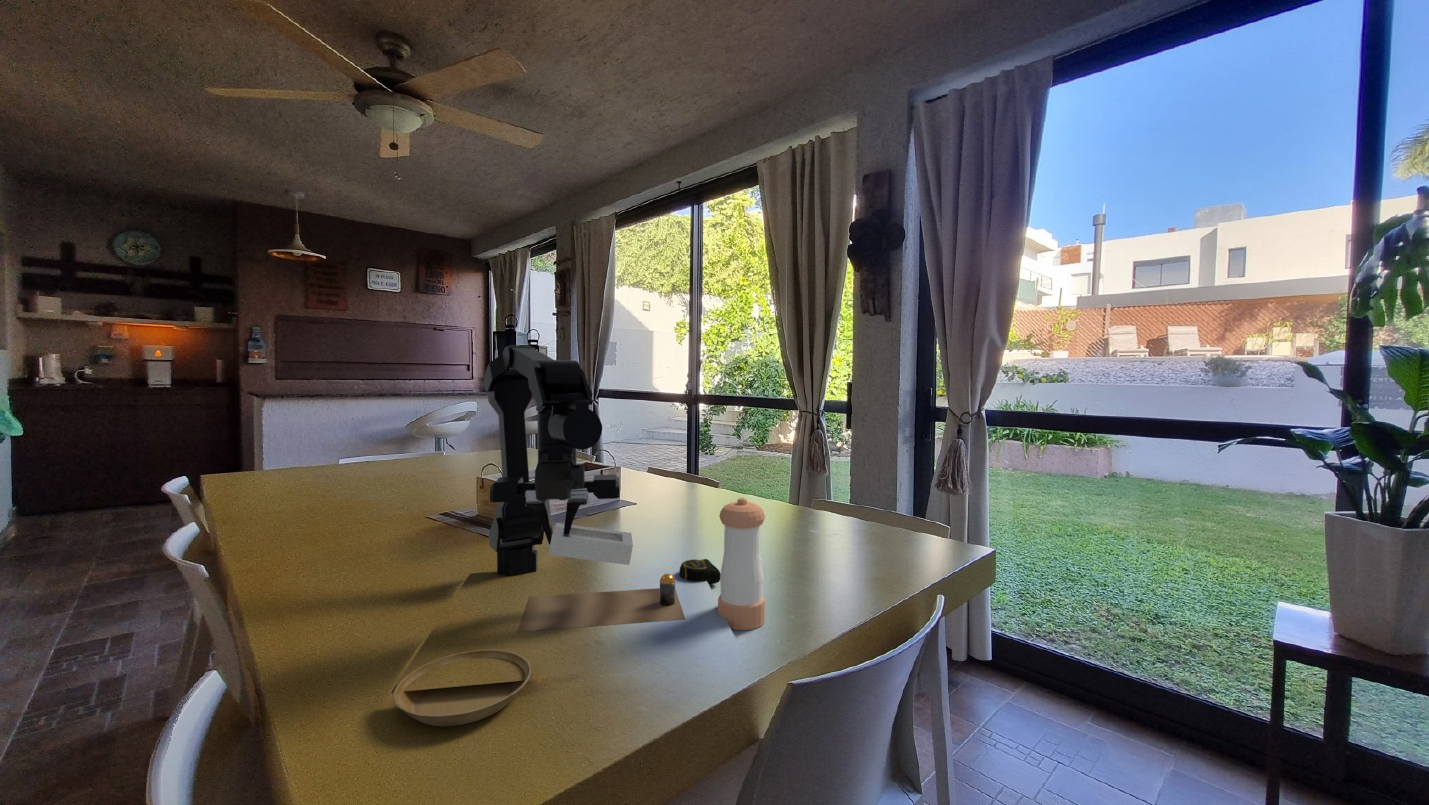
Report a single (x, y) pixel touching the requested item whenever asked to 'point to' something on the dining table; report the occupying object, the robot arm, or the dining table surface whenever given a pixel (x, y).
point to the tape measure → (699, 571)
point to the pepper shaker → (742, 566)
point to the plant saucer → (459, 693)
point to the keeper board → (597, 609)
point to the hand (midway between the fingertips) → (557, 543)
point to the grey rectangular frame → (592, 544)
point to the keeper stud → (667, 590)
